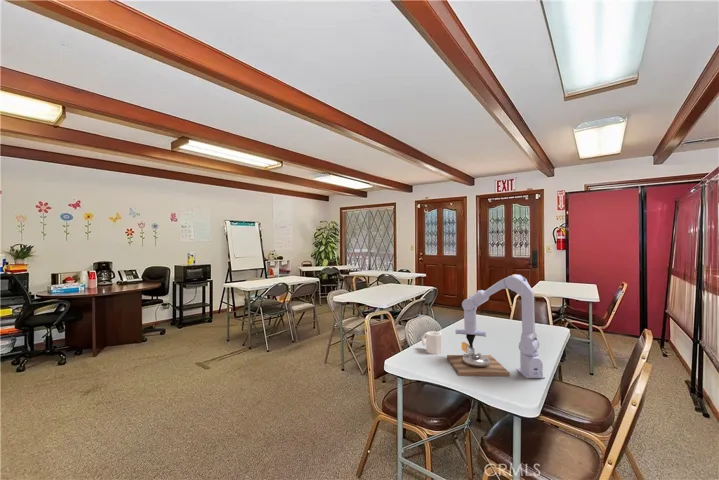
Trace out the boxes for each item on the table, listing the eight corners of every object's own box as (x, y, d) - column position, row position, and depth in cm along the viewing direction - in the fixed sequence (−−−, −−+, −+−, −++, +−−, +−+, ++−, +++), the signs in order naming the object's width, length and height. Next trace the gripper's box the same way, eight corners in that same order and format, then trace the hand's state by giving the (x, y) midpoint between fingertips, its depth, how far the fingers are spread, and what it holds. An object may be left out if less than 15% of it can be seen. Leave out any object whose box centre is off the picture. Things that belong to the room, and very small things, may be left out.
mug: (445, 351, 173) (444, 333, 174) (437, 355, 167) (436, 336, 167) (425, 346, 182) (425, 329, 182) (417, 350, 175) (417, 332, 175)
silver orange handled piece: (494, 366, 147) (494, 354, 147) (469, 368, 145) (469, 355, 145) (474, 352, 166) (474, 341, 166) (452, 353, 165) (452, 342, 165)
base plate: (509, 376, 141) (509, 372, 141) (459, 375, 141) (459, 371, 141) (490, 357, 163) (490, 354, 163) (446, 357, 164) (446, 354, 164)
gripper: (486, 321, 162) (487, 349, 162) (456, 319, 169) (457, 345, 168) (485, 325, 156) (485, 353, 155) (454, 322, 162) (455, 349, 162)
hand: (471, 349), depth 161 cm, fingers closed, pressing on silver orange handled piece
